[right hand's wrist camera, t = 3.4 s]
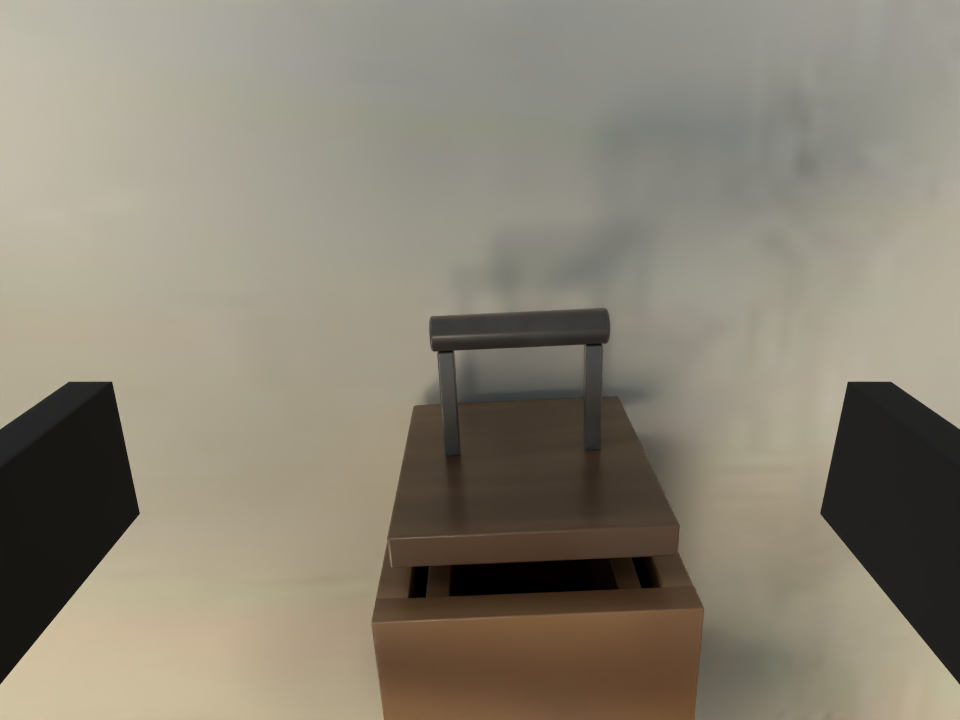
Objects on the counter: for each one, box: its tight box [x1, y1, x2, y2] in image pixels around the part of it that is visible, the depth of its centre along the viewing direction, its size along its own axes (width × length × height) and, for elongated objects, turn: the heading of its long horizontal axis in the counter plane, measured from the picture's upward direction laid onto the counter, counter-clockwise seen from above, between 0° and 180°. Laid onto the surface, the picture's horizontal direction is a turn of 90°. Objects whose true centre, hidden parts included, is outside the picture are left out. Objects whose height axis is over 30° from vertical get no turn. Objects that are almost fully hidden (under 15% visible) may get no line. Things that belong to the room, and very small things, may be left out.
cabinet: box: [371, 541, 704, 720], centre depth 30 cm, size 17×10×12 cm, turn 3°
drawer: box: [387, 308, 680, 598], centre depth 28 cm, size 21×9×10 cm, turn 3°
